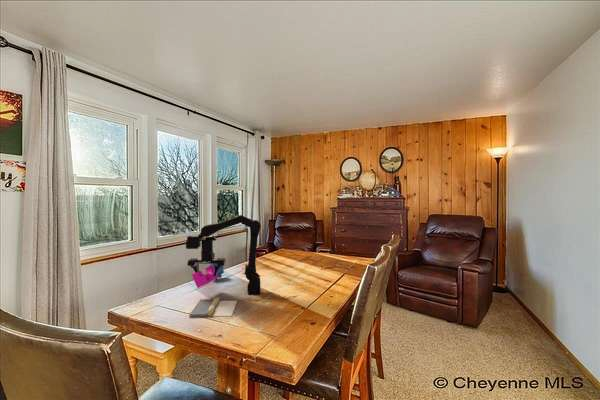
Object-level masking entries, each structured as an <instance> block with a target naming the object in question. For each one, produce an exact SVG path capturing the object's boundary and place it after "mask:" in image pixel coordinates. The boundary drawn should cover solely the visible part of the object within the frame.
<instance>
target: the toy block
mask: <svg viewBox="0 0 600 400" xmlns="http://www.w3.org/2000/svg"><path fill="white" fill-rule="evenodd" d="M205 273H206V274H204V273H203V272H202V271H201V270H199V271H198V272H196V273H195V272H194V273H192V274H191V277H192V279H193V281H194V283H195V286H196V287H197V289H199V288H201V287H203V286H205V285H207V284H210V283H211V282H213V281H215V280H218V279H219V278H218V275H216V276H215V275H214V274H215V269H214V266H213V265H211V266H208V267H205ZM217 278H218V279H217Z"/></svg>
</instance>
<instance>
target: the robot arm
mask: <svg viewBox="0 0 600 400" xmlns="http://www.w3.org/2000/svg"><path fill="white" fill-rule="evenodd" d="M238 224H242V225H244V226H246V227H248V228H249V232H250V245H249V256H248V257H249V258H248V263H247V264H245V265H244V275H245V278H246V279H247V280H248V283H247V287H246V288H247V295H252V296H253V295H261V282H262V281H261V276H260V274H259V273H258V272H257V267H256V265H257V264H256V260H257V259H256V258H257V248H258V239H259V238H258V237H259V234H260V231H261V227H262V225H261V222H260V221H259V220H257V219H251V218H249V217H247V216H244V215H242V214H240V215H238V216H235V217H232V218H230V219H226V220H224V221H221V222H216V223H211V224H205V225H204V226H202V227H201V229H200V234H198V235H197V236H194V235H193V236H192V235H188V236H186V238H187V239H186V241H185V242H186V243H185V248H186V250H199V248H201V249H200V250H201V251H200V257H201V259H199V258H197V257H196V258H195V257H193V258H189V260H187V267H190V268H192V269H193V271H194V273H196V272H198V271H200V267H199V266H200V264H201V265H202V264H203V265H206V264H209V265H210V264H216V266H215V274H214V275H215V276H216V275H217V272H218V269H219V267H221V266H225V265H226V263H227V262H226V258H225V257H224V258H223V257H220V258H217V259H215V255H216V253H214V246H213V244H214V242H215V241H216V240H217V238H216V237H215V235H214V234H215V233H217V232H219V231H221V230H223V229H227V228H230V227H232V226H233V227H234V226H235V225H238Z"/></svg>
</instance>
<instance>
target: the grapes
mask: <svg viewBox="0 0 600 400" xmlns="http://www.w3.org/2000/svg"><path fill="white" fill-rule="evenodd" d="M211 265H213V266H214V269H215V266H216V264H209V266H211ZM209 266H208V267H209ZM224 268H225V265H223V266H221V267H219V269H218V272H217V275H218V278H217V279H216V280H218V279H221V278H222V276H223V274H224V273H225V270H224Z"/></svg>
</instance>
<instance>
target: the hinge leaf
mask: <svg viewBox="0 0 600 400" xmlns="http://www.w3.org/2000/svg"><path fill="white" fill-rule="evenodd" d="M219 302H220V297H218V296H216V297H215V298H208V299H206V298H205V299H203V298H201V299H199V300H198V302H197V303H196V305H195V306H194V308H193V309H192V310H191V312H190V313H189V316H188V317H189V318H207V317H212V315H213V313H214V312H215V310H216V308H217V306H218V304H219Z"/></svg>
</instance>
